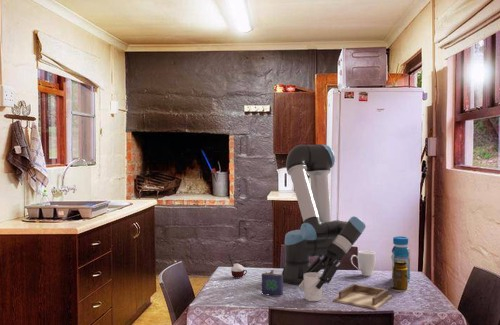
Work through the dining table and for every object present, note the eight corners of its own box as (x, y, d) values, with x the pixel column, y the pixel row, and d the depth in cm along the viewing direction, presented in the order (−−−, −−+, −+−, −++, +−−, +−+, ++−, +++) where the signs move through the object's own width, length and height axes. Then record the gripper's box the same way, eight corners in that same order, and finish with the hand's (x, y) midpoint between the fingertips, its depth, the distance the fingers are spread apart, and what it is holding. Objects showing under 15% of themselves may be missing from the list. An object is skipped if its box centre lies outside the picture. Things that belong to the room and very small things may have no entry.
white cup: (302, 296, 191) (301, 272, 191) (320, 295, 192) (320, 272, 192) (305, 302, 183) (305, 277, 183) (325, 301, 184) (324, 276, 184)
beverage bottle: (400, 282, 209) (399, 239, 209) (387, 278, 217) (387, 236, 217) (414, 280, 213) (414, 238, 213) (401, 276, 221) (401, 235, 220)
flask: (283, 294, 194) (283, 269, 194) (282, 296, 191) (281, 271, 191) (262, 293, 196) (262, 268, 196) (260, 295, 194) (260, 270, 193)
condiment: (412, 289, 200) (411, 261, 200) (399, 292, 195) (399, 264, 195) (398, 285, 206) (398, 258, 206) (385, 288, 201) (385, 261, 201)
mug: (372, 272, 229) (372, 249, 228) (377, 276, 220) (377, 253, 220) (348, 273, 228) (348, 250, 228) (353, 277, 220) (353, 253, 220)
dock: (333, 301, 184) (333, 292, 184) (351, 290, 199) (351, 282, 199) (376, 309, 174) (376, 300, 174) (392, 297, 188) (392, 289, 188)
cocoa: (247, 276, 225) (248, 252, 225) (245, 279, 219) (246, 254, 219) (228, 275, 227) (229, 251, 227) (225, 278, 220) (226, 253, 221)
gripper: (358, 258, 184) (325, 304, 178) (330, 249, 203) (299, 290, 197) (347, 246, 182) (313, 292, 176) (320, 238, 201) (288, 279, 195)
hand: (306, 291), depth 186 cm, fingers closed on white cup, 8 cm apart
